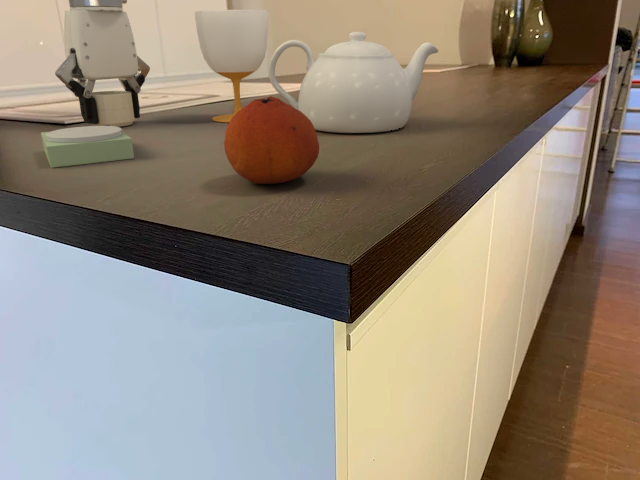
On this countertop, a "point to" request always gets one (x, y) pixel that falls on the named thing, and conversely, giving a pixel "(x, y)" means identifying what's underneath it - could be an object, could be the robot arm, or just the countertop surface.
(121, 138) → the scale
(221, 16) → the cup
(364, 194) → the countertop surface
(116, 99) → the bowl
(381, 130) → the teapot
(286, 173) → the fruit
